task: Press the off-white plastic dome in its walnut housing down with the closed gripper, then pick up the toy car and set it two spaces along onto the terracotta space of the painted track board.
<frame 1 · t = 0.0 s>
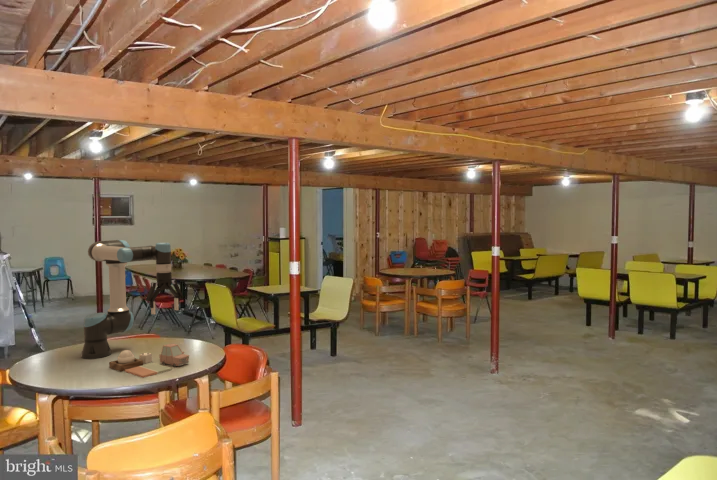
hand: (165, 312, 287), 28 cm above the table, fingers open, 13 cm apart
track board: (148, 370, 277), on the table
die: (145, 362, 293), on the table
dome housing: (126, 366, 285), on the table
dome: (126, 356, 284), point 6 cm above the table, slide at 0.0 cm
toy car: (174, 364, 289), on the table
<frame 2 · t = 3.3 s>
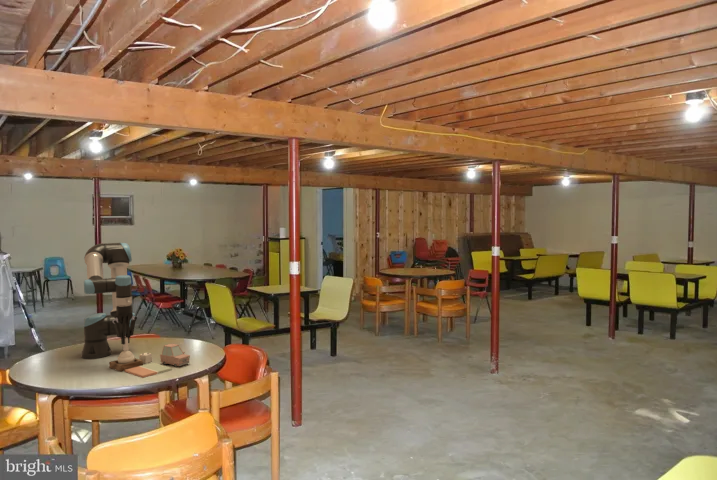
hand: (125, 350, 284), 9 cm above the table, fingers closed
dome: (126, 356, 284), point 5 cm above the table, slide at -0.2 cm, touching gripper
everything else where it was.
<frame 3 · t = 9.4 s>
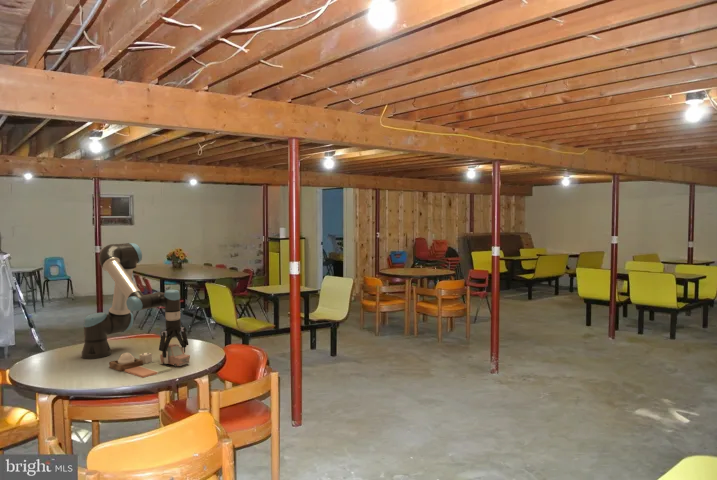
hand: (174, 361, 289), 2 cm above the table, fingers closed on toy car, 9 cm apart
dome: (126, 359, 284), point 4 cm above the table, slide at -1.4 cm
toy car: (175, 364, 288), on the table, touching gripper
when the fingers open (4 cm above the table, at t = 14.4 s): toy car drops 1 cm, resting on track board.
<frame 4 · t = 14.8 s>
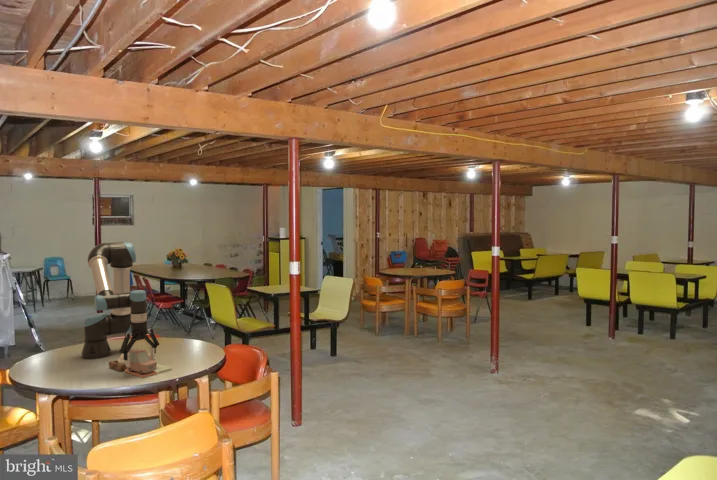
hand: (140, 363, 274), 5 cm above the table, fingers open, 13 cm apart
toy car: (141, 371, 273), point 1 cm above the table, touching track board
everything else where it was.
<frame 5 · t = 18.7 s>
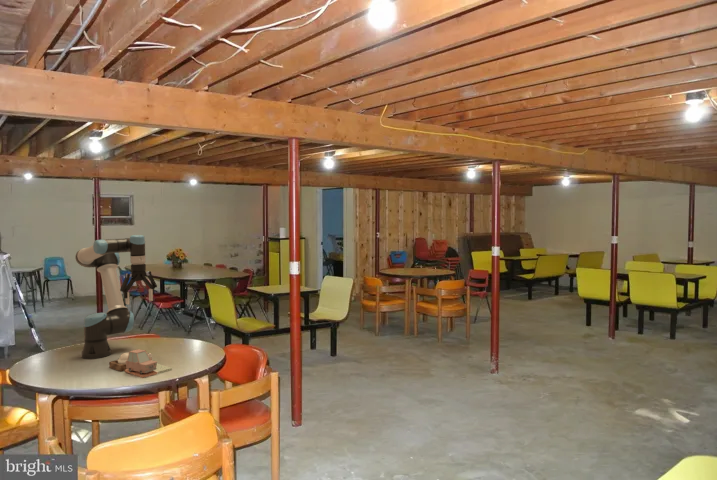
hand: (139, 302, 296), 32 cm above the table, fingers open, 13 cm apart
nothing on the table moved.
at the end: dome slide at -1.4 cm; toy car inside the target area (1.1 cm from its centre), point 0.8 cm above the table; toy car tilted 0° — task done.
